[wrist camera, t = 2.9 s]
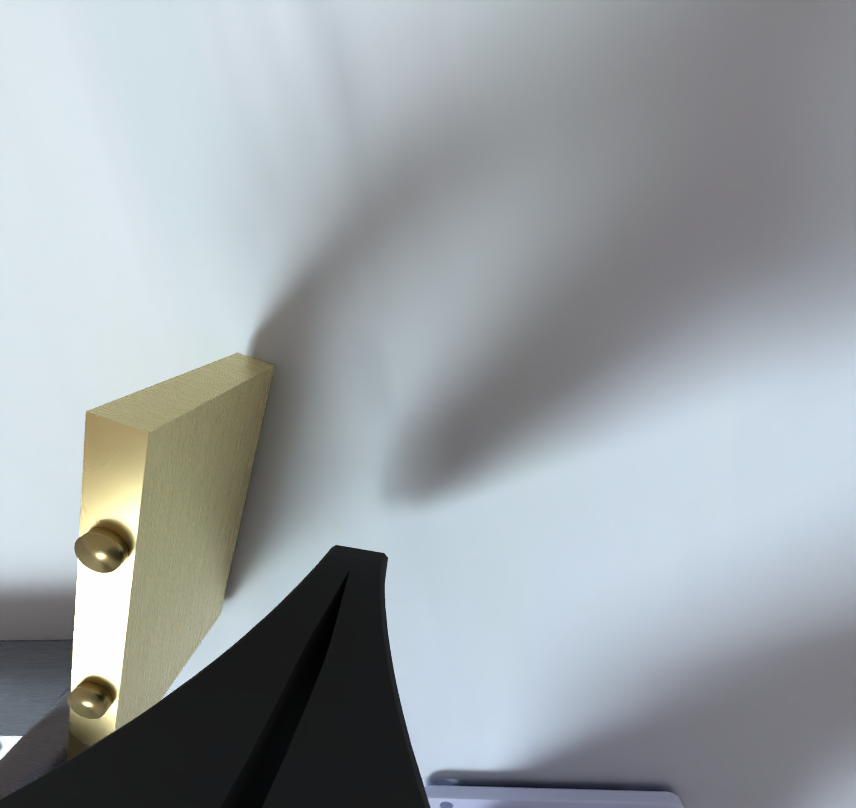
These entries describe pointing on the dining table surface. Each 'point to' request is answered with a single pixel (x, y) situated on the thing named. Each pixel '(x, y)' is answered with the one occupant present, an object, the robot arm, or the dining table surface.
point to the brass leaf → (157, 534)
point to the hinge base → (33, 710)
